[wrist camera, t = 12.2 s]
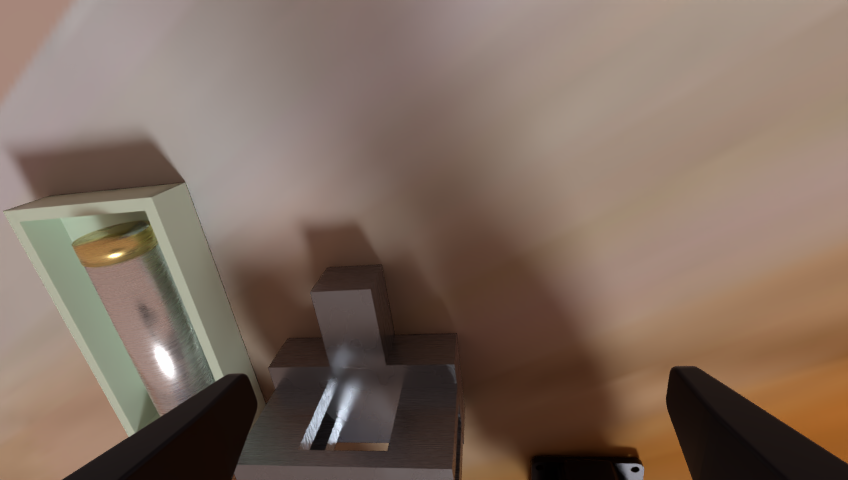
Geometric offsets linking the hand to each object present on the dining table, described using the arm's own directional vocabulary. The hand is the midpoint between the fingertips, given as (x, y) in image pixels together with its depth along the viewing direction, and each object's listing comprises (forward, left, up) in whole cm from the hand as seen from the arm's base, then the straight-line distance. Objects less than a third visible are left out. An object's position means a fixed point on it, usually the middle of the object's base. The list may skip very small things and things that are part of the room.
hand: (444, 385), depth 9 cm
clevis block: (-9, +6, -12) cm, 16 cm away
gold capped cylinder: (-5, +17, -10) cm, 20 cm away
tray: (-6, +18, -12) cm, 22 cm away
